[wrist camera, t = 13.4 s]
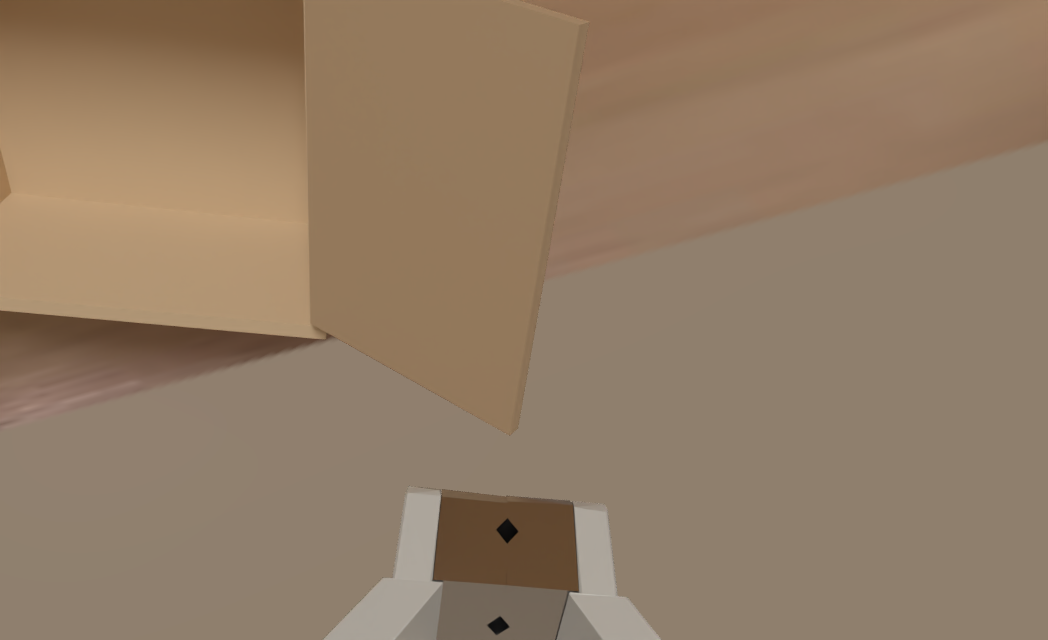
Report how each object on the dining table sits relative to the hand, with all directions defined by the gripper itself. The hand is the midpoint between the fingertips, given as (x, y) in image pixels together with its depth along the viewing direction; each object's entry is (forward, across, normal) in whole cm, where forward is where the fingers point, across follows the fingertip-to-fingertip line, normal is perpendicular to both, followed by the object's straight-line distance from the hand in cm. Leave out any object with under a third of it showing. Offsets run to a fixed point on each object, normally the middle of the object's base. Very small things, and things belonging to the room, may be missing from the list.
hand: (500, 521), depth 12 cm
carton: (+20, +12, 0) cm, 23 cm away
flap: (+10, +2, 0) cm, 10 cm away
